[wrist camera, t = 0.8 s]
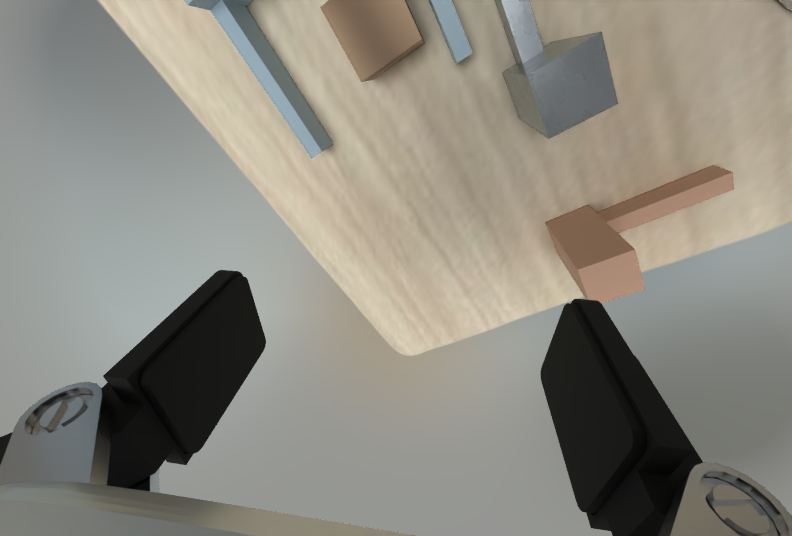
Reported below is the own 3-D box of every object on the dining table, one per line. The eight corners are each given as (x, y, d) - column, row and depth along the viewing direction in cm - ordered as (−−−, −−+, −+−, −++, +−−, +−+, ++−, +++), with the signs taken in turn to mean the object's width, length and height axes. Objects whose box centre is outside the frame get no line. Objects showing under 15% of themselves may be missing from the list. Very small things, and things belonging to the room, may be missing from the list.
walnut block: (393, -28, 24) (383, -47, 20) (424, 42, 26) (421, 38, 22) (339, 16, 26) (320, 7, 22) (373, 79, 28) (361, 81, 24)
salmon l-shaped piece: (557, 253, 34) (590, 306, 27) (545, 222, 33) (577, 269, 25) (716, 192, 29) (812, 237, 22) (711, 152, 28) (814, 185, 20)
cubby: (383, -160, 21) (365, -232, 16) (469, 54, 26) (475, 51, 21) (225, 0, 26) (173, -16, 21) (323, 149, 31) (301, 166, 26)
